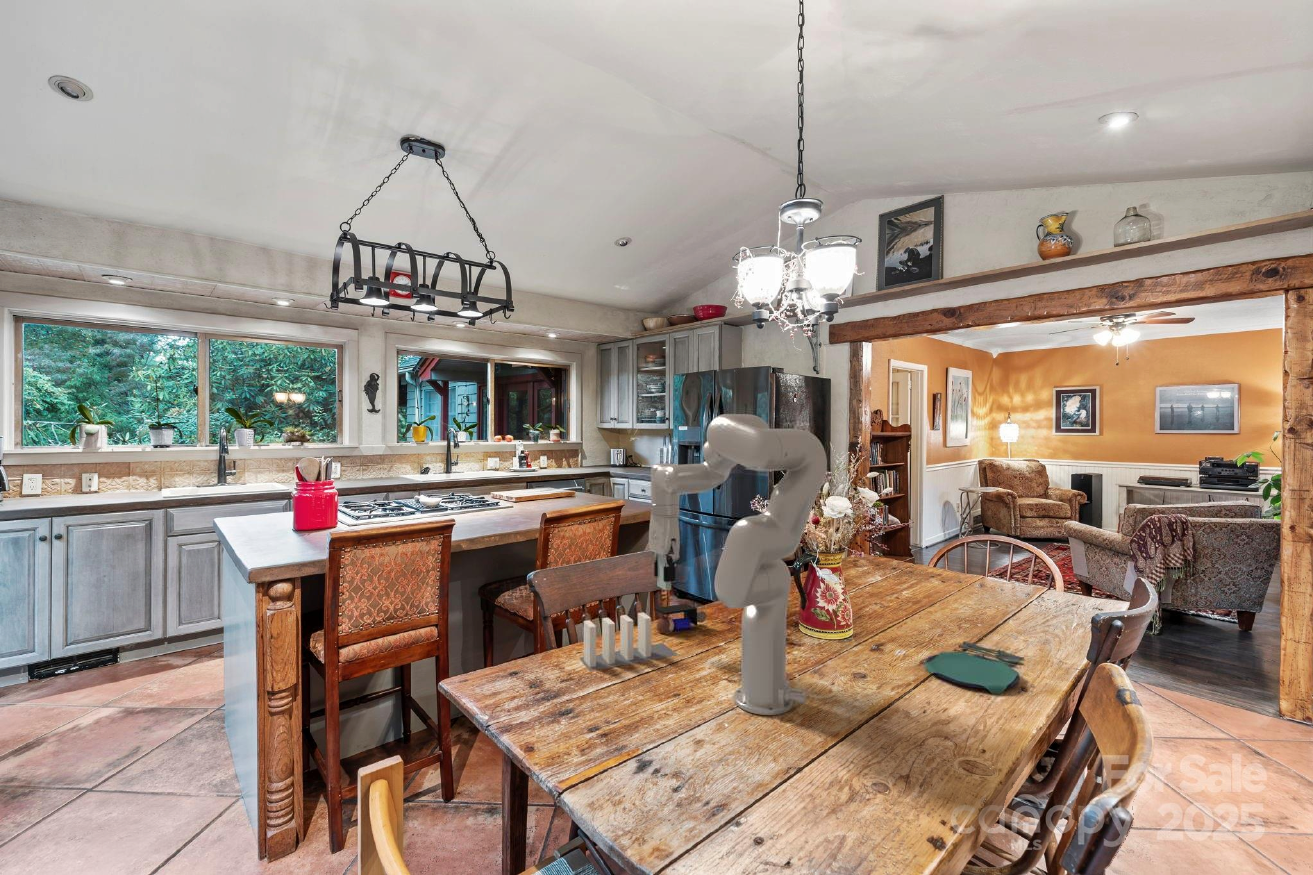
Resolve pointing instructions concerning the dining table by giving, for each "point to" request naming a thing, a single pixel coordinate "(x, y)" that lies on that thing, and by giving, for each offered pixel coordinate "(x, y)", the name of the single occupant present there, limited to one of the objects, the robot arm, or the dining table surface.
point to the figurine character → (690, 618)
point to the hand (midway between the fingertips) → (664, 577)
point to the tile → (660, 573)
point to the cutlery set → (976, 668)
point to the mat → (656, 653)
